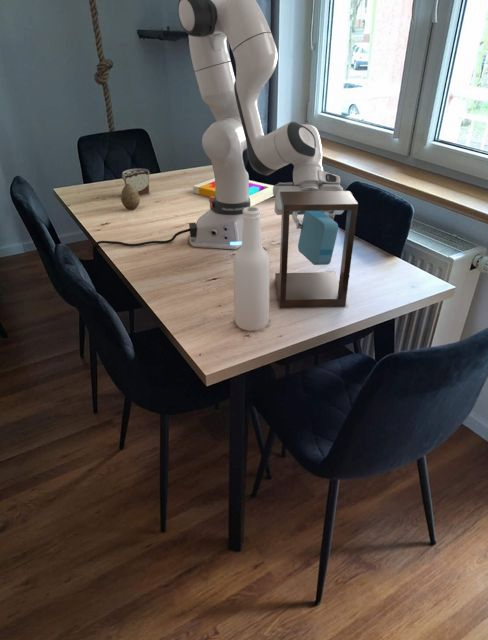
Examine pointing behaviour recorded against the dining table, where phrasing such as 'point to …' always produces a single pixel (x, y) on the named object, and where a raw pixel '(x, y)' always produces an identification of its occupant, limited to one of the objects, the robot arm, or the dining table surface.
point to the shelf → (316, 285)
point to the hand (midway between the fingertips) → (311, 228)
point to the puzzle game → (256, 190)
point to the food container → (137, 180)
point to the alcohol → (251, 275)
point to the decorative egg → (130, 197)
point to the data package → (317, 237)
